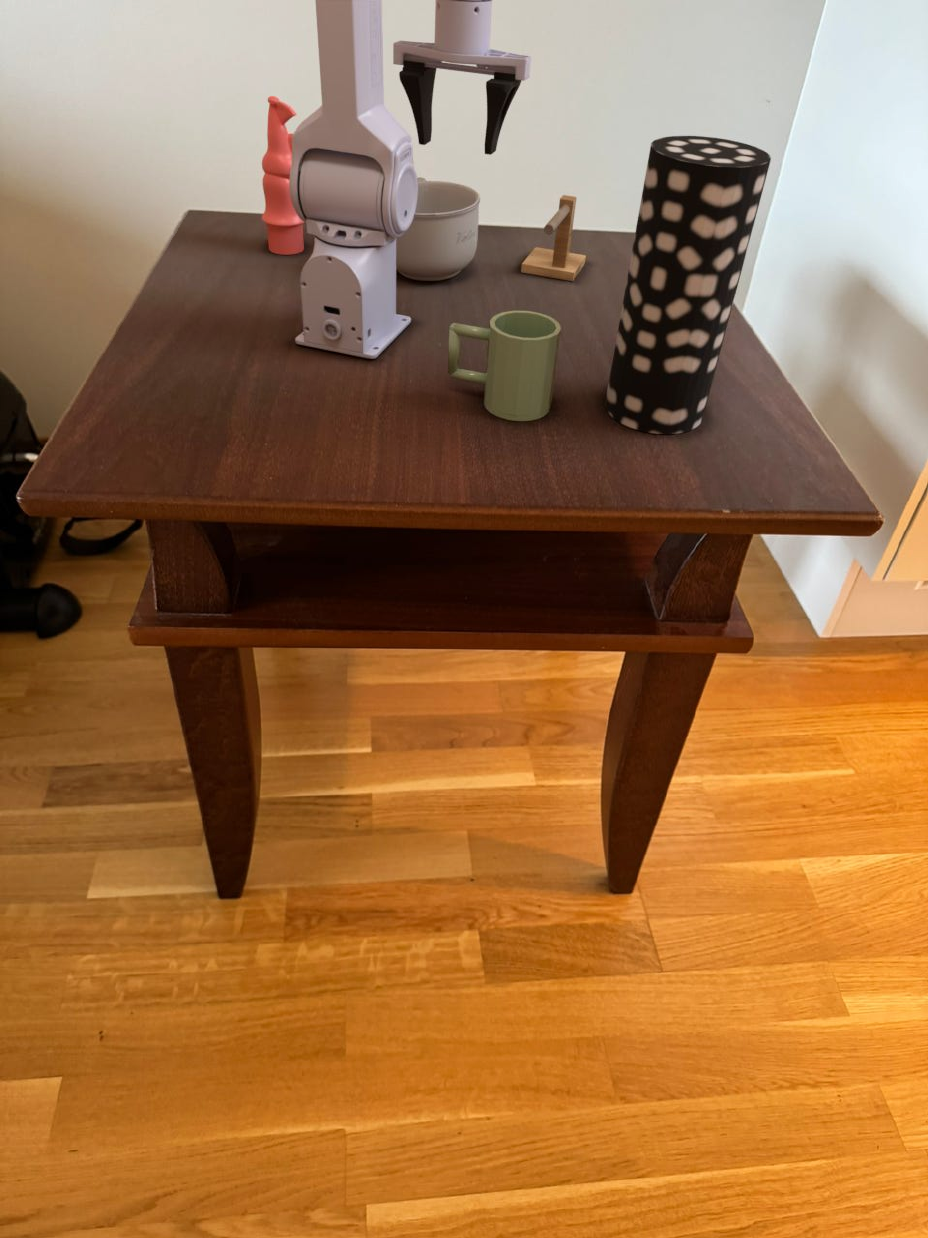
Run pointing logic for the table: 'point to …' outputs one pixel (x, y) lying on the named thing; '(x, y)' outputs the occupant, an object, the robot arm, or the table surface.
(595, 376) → the table surface
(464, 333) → the mug
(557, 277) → the mug stand
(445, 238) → the teacup
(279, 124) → the figurine
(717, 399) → the table surface
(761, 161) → the spotted tube
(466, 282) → the table surface
